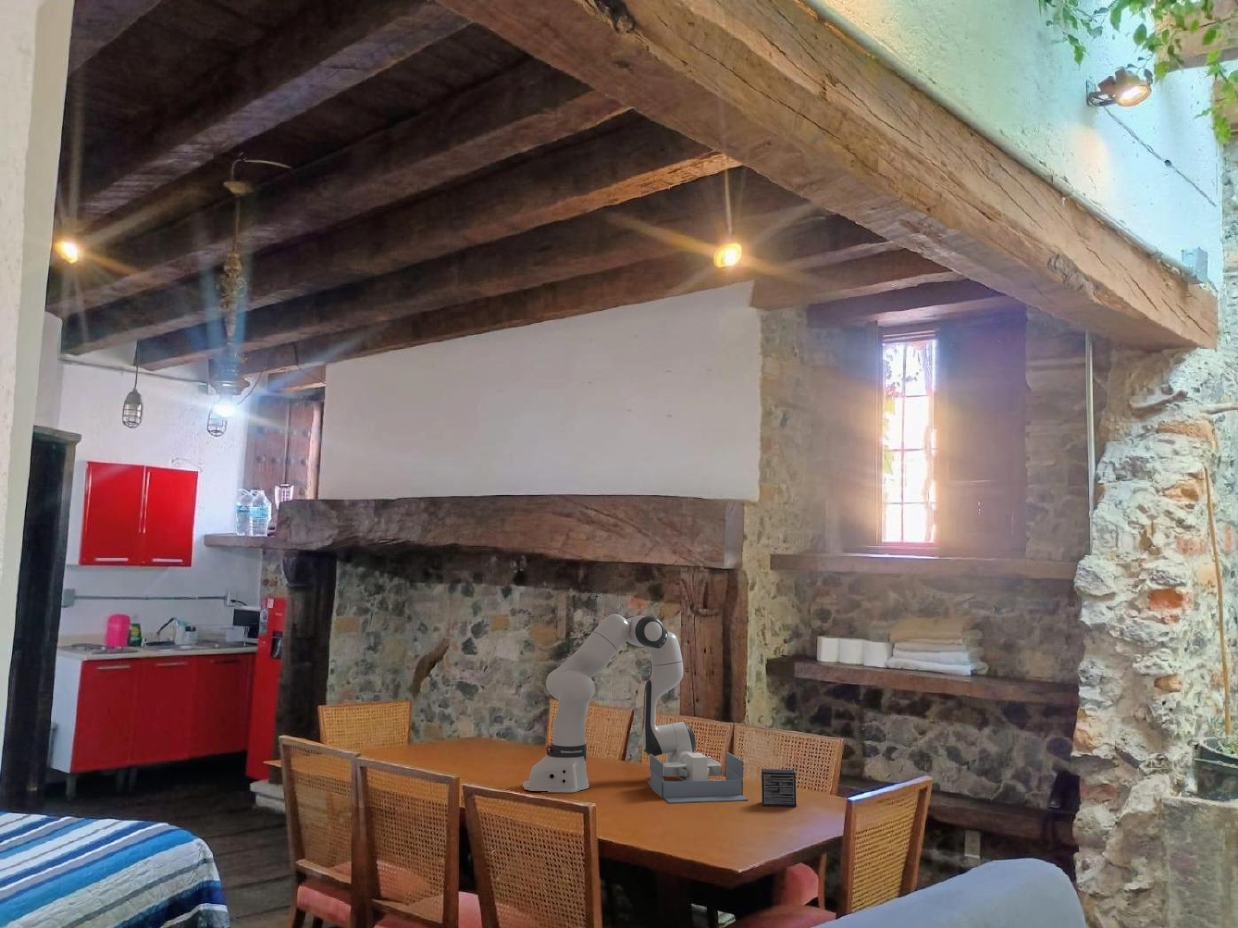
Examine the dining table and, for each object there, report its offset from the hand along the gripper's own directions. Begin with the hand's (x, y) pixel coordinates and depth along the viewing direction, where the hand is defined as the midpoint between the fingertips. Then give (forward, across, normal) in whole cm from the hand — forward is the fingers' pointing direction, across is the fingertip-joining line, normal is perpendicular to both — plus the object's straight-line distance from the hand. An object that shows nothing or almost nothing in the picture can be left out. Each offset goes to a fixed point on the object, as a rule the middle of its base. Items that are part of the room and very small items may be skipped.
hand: (697, 773), depth 319 cm
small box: (+20, +21, +6) cm, 30 cm away
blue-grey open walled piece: (-2, 0, +6) cm, 6 cm away
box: (-1, 0, +6) cm, 6 cm away
